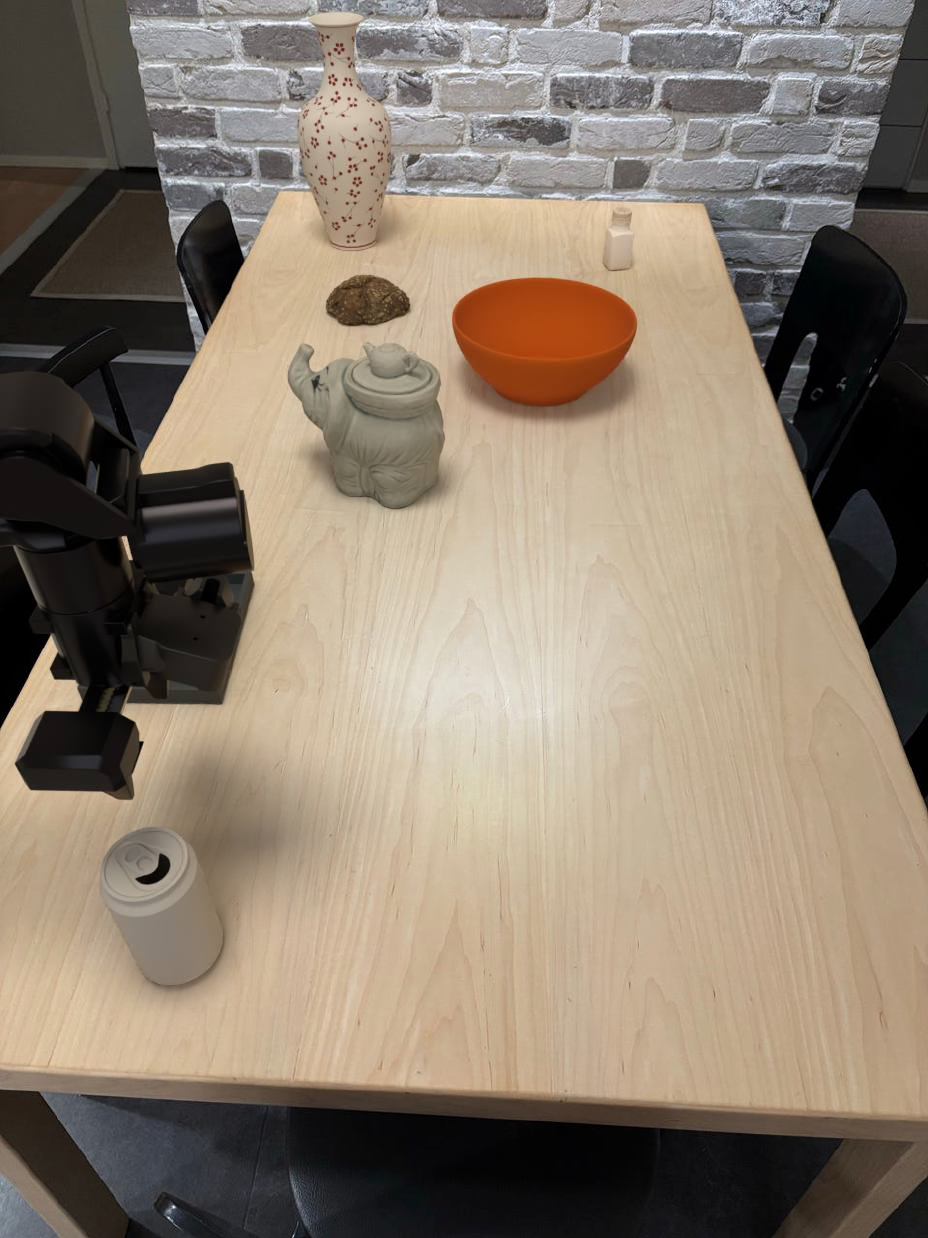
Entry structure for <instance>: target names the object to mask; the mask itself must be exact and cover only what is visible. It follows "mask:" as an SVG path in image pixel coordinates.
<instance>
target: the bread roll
mask: <svg viewBox="0 0 928 1238" xmlns="http://www.w3.org/2000/svg"><path fill="white" fill-rule="evenodd" d="M410 307H411V302H410V297H408V295H407V292H405V291H404V290H403V289H401V288H400V287H399V286H398V285H395V283H393V282H391V281H390V280H388V279H387V278H384V277H380V276H375V275H374V274H361V275H360V274H356V275H353V276H351V277H350V278H348V279H346V280H344V281H342V282H341V283H340V284H339V285H337V286H336V287H334V288H333V290H332V291H331V292H330V293H329V296H328V297H327V299H326V300H325V310H326V311H327V312H328V313H330V314H332V315H334V316H336V319H337V321H338V322H340V323H341V324H343V325H347V326H348V325H349V326H360V325H362V324H363V325H376V324H379V323H384V322H387V321H390V320H391V319H394V318H396V317H401V316H404V315H406V314H407V312H408V311H409V310H410Z"/></svg>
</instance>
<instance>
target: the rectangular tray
mask: <svg viewBox="0 0 928 1238" xmlns="http://www.w3.org/2000/svg"><path fill="white" fill-rule="evenodd" d="M225 576H226V577H227V580H228V582H229V585H230V587H231V590H232V592H233V600H232V603H233V604H234V602H236V603H240V606H239V608H240V609H241V611H242V614H241V625H240V629H239V632H238V636H237V639H236V643H235V646H234V650H233V653H232V657H231V660H230V664H229V668H228V671H227V675H226V678H225V682H224V685H223V686H222V688H221V689H219V690H218V691H215V692H205V691H201V690H199V689H197V688H196V687H193V686H189V685H185V684H181V683H177V682H173V681H169V695H168V698H167V699H154V698H153V697H152V696H151V695H150V694H149V693H148V691H147V690H146V689H145V688H144V687H132V689H131V692H130V695H129V697H128V700H127V703H126V704H128V703H129V704H185V705H187V704H190V705H193V704H194V705H195V704H196V705H197V704H199V705H222V704H223V701H224V697H225V694H226V690H227V687H228V682H229V679H230V675H231V671H232V668H233V663H234V660H235V657H236V653H237V649H238V645H239V641H240V639H241V635H242V631H243V627H244V623H245V619H246V617H247V613H248V609H249V605H250V601H251V598H252V594H253V590H254V587H255V581H254V576H253V571H249V572H241V573H233V574H226V575H225ZM196 579H197V578H195V579H193V581H194V580H196ZM76 689H77V692H78V695H79V697H80V699H81V702H82V701H83V699H84V696H85V694H86V692H87V689H88V688H86V687H83V686H81V685H78V684H77V687H76Z"/></svg>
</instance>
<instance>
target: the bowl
mask: <svg viewBox="0 0 928 1238" xmlns="http://www.w3.org/2000/svg"><path fill="white" fill-rule="evenodd" d="M451 325H452V330H453V335H454V337H455V341H456V343H457V346H458V348H459V350H460V352H461V354H462V355H463V357H464V359H465V360H466V362H467V363H468V364H469V366H470V367H471V368H472V369H473V371H474V372H475V373H476V374H477V375H478V376H479V377H480V378H481V379H482V380H483V381H485V383H487V384H488V385H489V386H490V387H491V388H492V389H494V391H495V392H496V393H497V394H498V395H500V396H501V397H503V398H504V399H506V400H508V401H511V402H513V403H516V404H519V405H523V406H529V407H542V408H543V407H556V406H562V405H566V404H569V403H572V402H575V401H577V400H579V399H580V398H581V397H582V396H584V395H585V394H586V393H587V392H590V390H592V389H594V388H595V387H596V386H598V385H599V384H600V383H602V382H603V381H604V380H606V378H607V377H609V376H610V375H611V374H612V373H613V372H614V371H615V370H616V369H617V368H618V366H619V365H620V364H621V363H622V361H624V359H625V357H626V355H627V354H628V352H629V351H630V349H631V346H632V344H633V342H634V340H635V338H636V334H637V330H638V318H637V315H636V312H635V311H634V309H633V308H632V306H631V305H630V304H628V302H626V301H625V300H624V299H623V298H621V297H620V296H619V295H617V294H615V293H613V292H612V291H609V290H607V289H604V288H602V287H599V286H596V285H593V284H590V283H586V282H583V281H577V280H572V279H566V278H557V277H537V276H536V277H519V278H518V277H517V278H511V279H505V280H499V281H496V282H492V283H488V284H485V285H481V286H480V287H478V288H475V289H473V290H471V291H470V292H468V293H467V294H465V295H464V296H463V297H462V298H460V299H459V300H458V302H457V303H456V304H455V306H454V308H453V311H452V314H451Z"/></svg>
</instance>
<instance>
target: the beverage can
mask: <svg viewBox="0 0 928 1238" xmlns="http://www.w3.org/2000/svg"><path fill="white" fill-rule="evenodd" d="M99 876H100V877H99V884H98V885H99V893H100V896H101V899H102V900H103V903H104V904H105V906H106V908H107V910H108V912H109V914H110V915H111V918H112V920H113V922H114V924H115V926H116V927H117V929H118V931H119V933H120V935H121V937H122V939H123V941H124V943H125V944H126V946H127V949H128V950H129V952H130V954H131V956H132V958H133V959H134V962H135V963H136V966H137V967H138V969H139V971H140V973H142V975H143V976H144V977H146V979H148V980H149V981H151V982H153V983H156V984H158V985H161V986H178V985H179V986H180V985H183V984H186V983H188V982H191V981H193V980H195V979H198V978H199V977H200V976H202V975H203V974H204V973H206V972H207V971H208V970H209V969H210V968H211V967H212V966H213V964H214V963H215V962H216V960H217V958H218V956H219V955H220V953H221V951H222V950H221V949H222V947H223V942H224V929H223V926H222V923H221V920H220V917H219V914H218V911H217V909H216V906H215V904H214V901H213V898H212V895H211V892H210V890H209V887H208V884H207V882H206V879H205V876H204V873H203V871H202V867H201V865H200V862H199V860H198V856H197V854H196V851H195V849H194V847H193V846H192V845H191V843H190V842H188V841H187V840H186V839H185V838H183V837H182V836H181V835H180V834H178V833H177V832H176V831H175V830H172V829H170V828H167V827H163V826H162V827H161V826H147V827H142V828H139V829H136V830H132V831H131V832H129V833H127V834H125V835H124V836H122V837H120V838H119V839H118V840H117V841H116V842H114V843H113V844H112V845H111V847H110V848H109V849H108V851H107V852H106V853H105V855H104V857H103V859H102V862H101V865H100V870H99Z"/></svg>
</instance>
